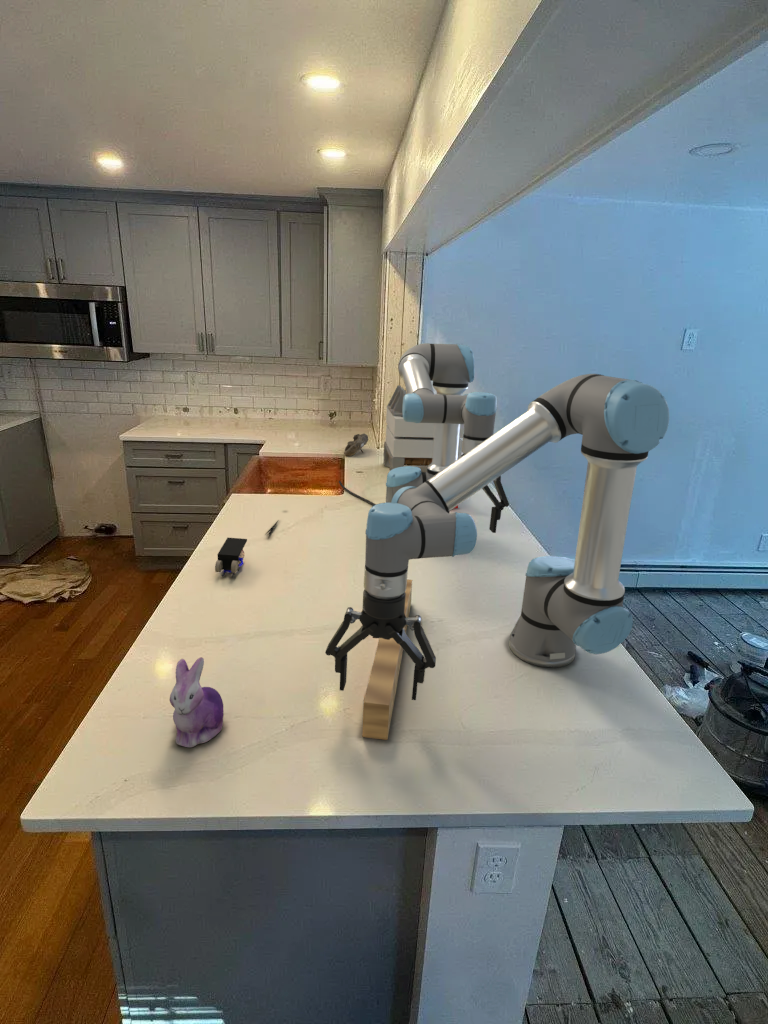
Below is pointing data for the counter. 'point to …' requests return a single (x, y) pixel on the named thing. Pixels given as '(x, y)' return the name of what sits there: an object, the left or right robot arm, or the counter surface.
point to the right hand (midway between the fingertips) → (378, 691)
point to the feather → (272, 529)
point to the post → (383, 683)
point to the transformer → (408, 437)
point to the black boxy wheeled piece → (230, 556)
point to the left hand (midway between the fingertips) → (468, 532)
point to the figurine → (195, 706)
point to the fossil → (356, 444)
